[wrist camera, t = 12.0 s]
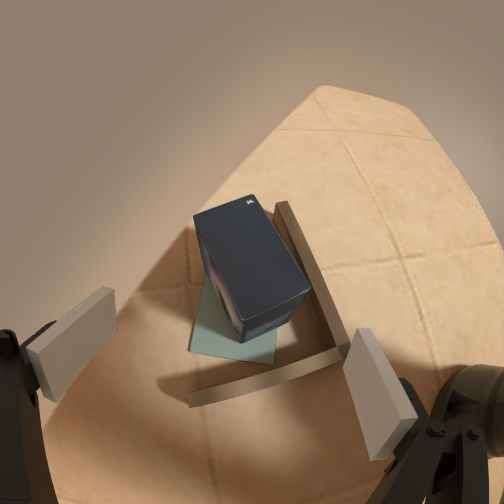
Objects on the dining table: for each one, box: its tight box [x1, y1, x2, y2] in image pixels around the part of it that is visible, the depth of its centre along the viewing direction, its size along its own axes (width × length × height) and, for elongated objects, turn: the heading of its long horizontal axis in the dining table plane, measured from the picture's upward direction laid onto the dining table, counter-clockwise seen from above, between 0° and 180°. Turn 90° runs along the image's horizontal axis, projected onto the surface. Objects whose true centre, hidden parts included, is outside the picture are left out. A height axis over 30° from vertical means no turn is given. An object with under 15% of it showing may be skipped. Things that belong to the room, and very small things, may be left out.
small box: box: [193, 194, 311, 344], centre depth 27 cm, size 11×6×10 cm, turn 26°
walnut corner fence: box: [185, 201, 351, 408], centre depth 30 cm, size 17×20×4 cm
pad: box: [190, 273, 278, 365], centre depth 31 cm, size 9×13×1 cm
